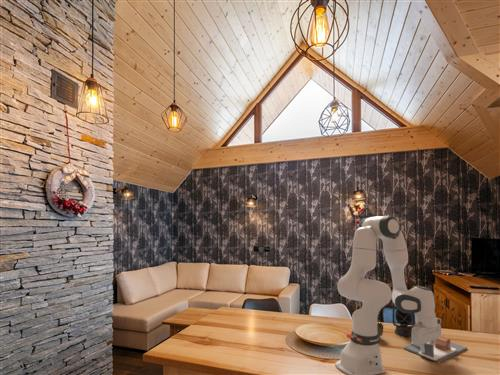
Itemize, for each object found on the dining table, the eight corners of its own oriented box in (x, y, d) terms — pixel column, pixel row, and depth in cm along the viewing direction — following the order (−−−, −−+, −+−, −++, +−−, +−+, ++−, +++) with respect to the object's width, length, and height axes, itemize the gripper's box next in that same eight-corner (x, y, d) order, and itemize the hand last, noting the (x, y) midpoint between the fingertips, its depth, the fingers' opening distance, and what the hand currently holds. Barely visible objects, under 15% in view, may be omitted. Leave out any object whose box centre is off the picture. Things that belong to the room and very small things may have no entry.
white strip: (435, 360, 136) (434, 347, 136) (418, 353, 143) (417, 341, 143) (456, 350, 146) (455, 338, 146) (439, 344, 153) (439, 333, 153)
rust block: (445, 351, 143) (445, 340, 144) (435, 347, 148) (434, 337, 148) (450, 349, 146) (450, 338, 147) (440, 345, 150) (439, 335, 151)
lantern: (393, 335, 168) (390, 282, 171) (391, 329, 178) (389, 279, 181) (418, 338, 164) (414, 284, 167) (414, 331, 174) (411, 280, 177)
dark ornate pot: (385, 341, 160) (384, 326, 161) (371, 340, 161) (370, 325, 162) (382, 336, 167) (381, 322, 168) (368, 335, 169) (368, 321, 169)
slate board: (438, 362, 136) (438, 360, 136) (404, 349, 150) (403, 347, 151) (467, 349, 150) (467, 347, 150) (432, 337, 165) (432, 336, 165)
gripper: (420, 326, 133) (422, 358, 132) (443, 319, 144) (445, 348, 142) (406, 322, 139) (408, 352, 137) (429, 315, 149) (431, 343, 148)
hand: (427, 350), depth 140 cm, fingers open, 6 cm apart
